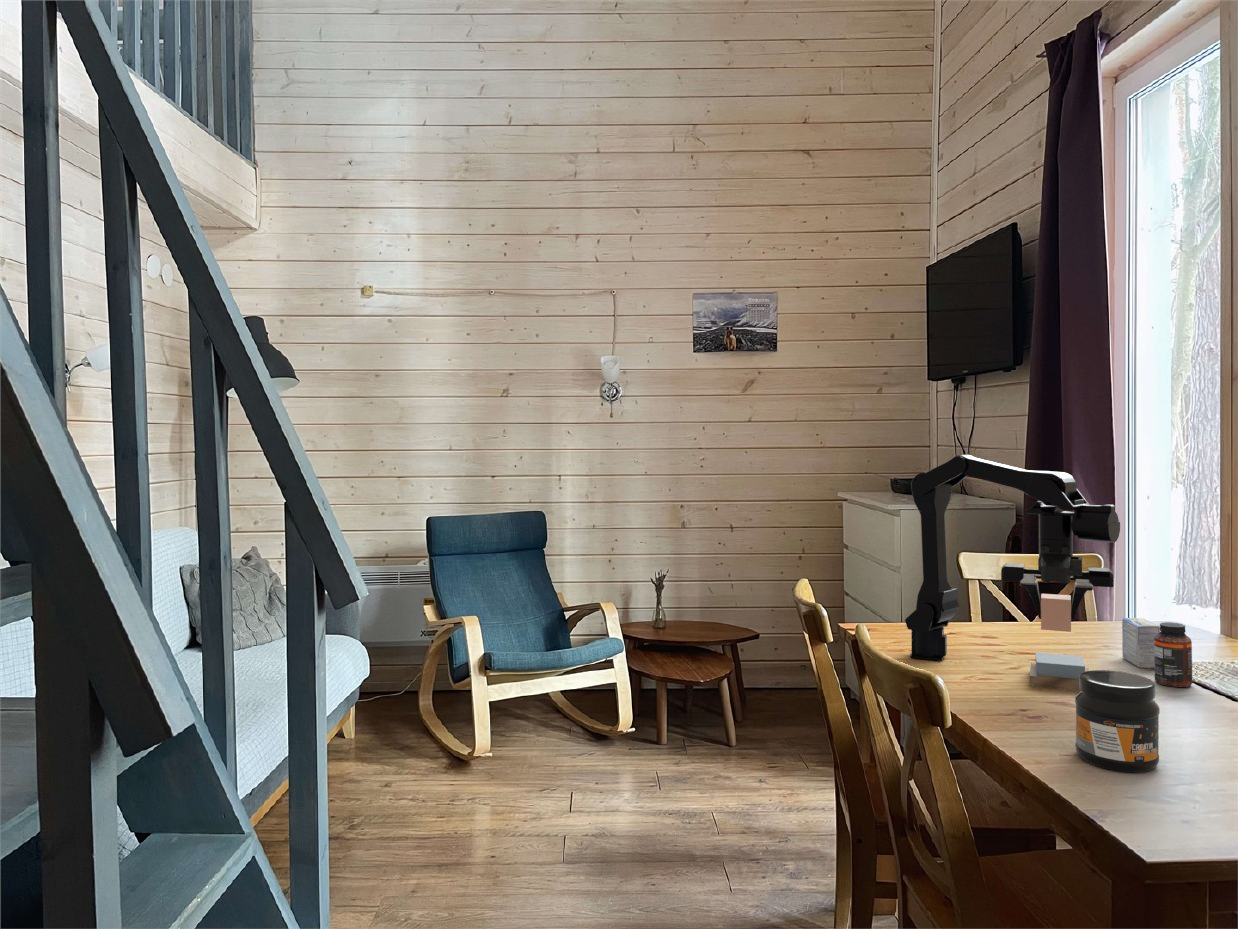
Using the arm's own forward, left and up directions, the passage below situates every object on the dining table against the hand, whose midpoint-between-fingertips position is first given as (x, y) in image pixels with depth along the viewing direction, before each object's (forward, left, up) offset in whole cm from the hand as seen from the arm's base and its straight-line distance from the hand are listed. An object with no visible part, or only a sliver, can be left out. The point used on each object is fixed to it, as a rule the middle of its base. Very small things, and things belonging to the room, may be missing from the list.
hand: (1056, 619), depth 159 cm
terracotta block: (0, 0, -2) cm, 2 cm away
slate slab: (+1, +1, -10) cm, 10 cm away
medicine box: (+16, +22, -12) cm, 29 cm away
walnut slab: (+1, +1, -13) cm, 13 cm away
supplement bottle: (+20, +8, -12) cm, 24 cm away
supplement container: (+8, -39, -12) cm, 42 cm away
